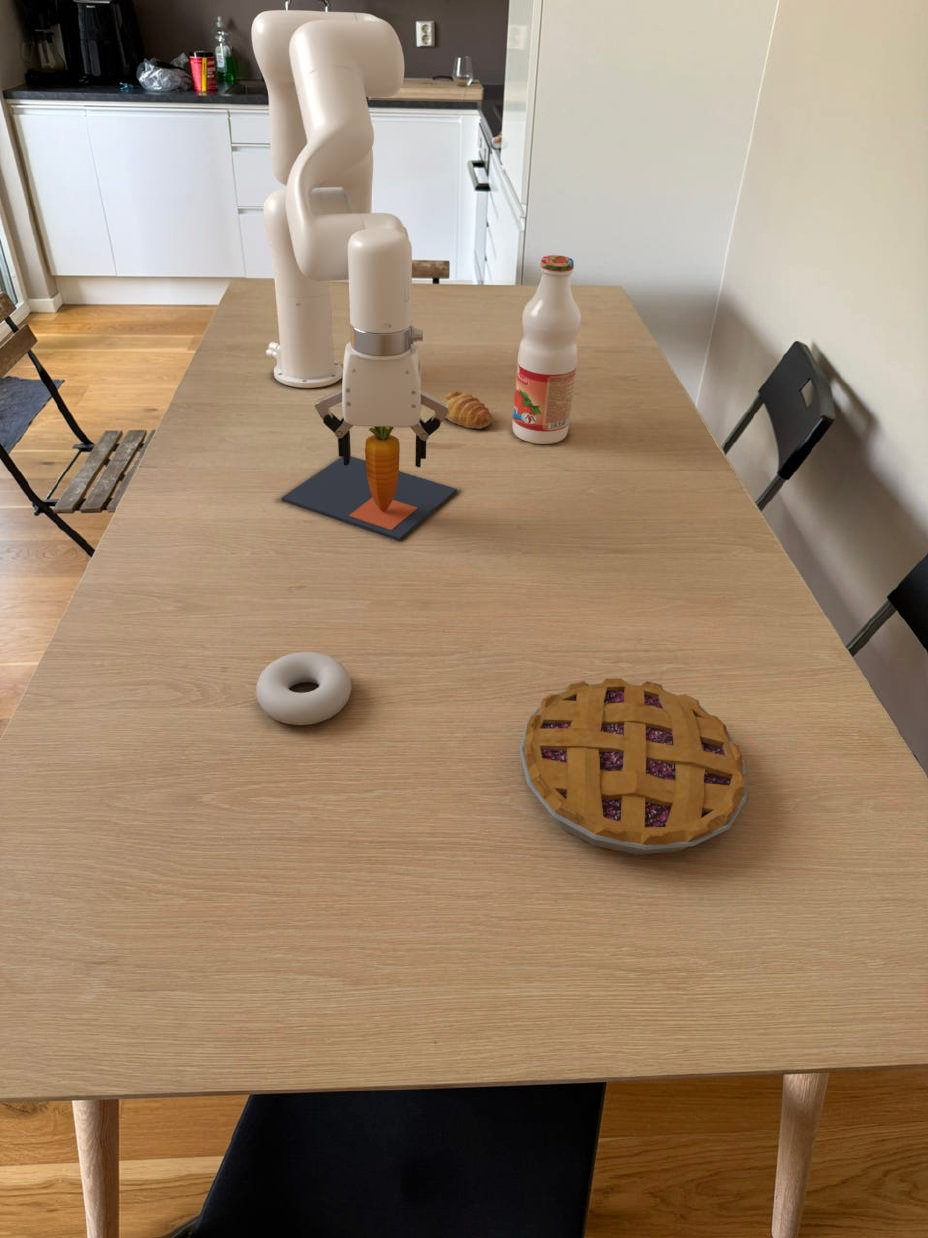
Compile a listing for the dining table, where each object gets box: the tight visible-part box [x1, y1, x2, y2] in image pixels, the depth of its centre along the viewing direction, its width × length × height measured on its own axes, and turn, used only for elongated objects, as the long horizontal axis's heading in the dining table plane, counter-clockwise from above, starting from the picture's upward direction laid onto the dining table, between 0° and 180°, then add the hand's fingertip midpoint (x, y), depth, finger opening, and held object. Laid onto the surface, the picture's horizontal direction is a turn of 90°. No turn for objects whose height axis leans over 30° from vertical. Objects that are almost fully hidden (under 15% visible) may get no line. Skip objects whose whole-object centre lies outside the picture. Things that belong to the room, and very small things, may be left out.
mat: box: [280, 456, 458, 542], centre depth 130 cm, size 20×16×1 cm
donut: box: [255, 651, 352, 726], centre depth 94 cm, size 10×4×10 cm
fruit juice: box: [511, 254, 582, 445], centre depth 140 cm, size 9×9×28 cm
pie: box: [519, 677, 747, 856], centre depth 86 cm, size 22×22×5 cm
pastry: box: [441, 390, 493, 430], centre depth 150 cm, size 9×7×4 cm
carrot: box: [364, 426, 401, 512], centre depth 121 cm, size 5×5×15 cm
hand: (382, 461), depth 121 cm, fingers open, 9 cm apart
